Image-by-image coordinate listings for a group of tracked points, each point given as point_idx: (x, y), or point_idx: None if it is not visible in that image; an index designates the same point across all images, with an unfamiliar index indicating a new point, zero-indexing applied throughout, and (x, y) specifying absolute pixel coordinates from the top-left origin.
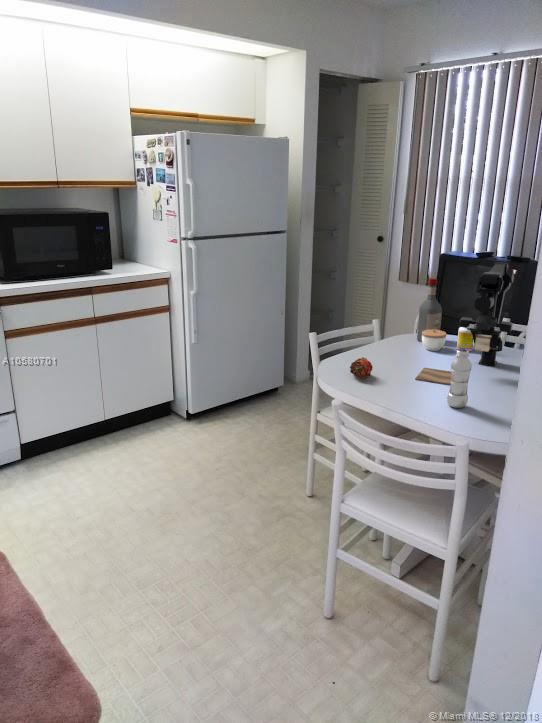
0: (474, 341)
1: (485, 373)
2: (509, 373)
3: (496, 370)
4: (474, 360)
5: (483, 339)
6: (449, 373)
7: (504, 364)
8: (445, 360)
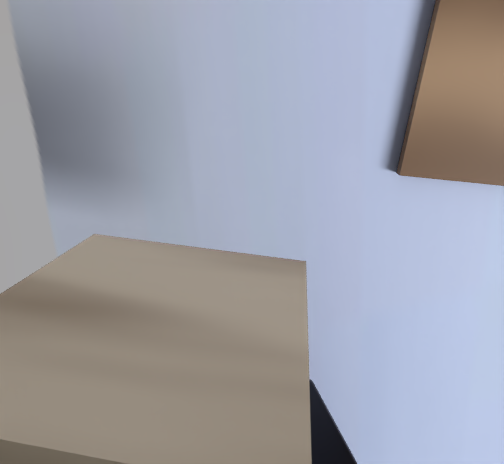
0: (330, 435)
1: None
2: None
3: None
4: None
5: (52, 407)
6: (493, 123)
7: None
8: (481, 424)
